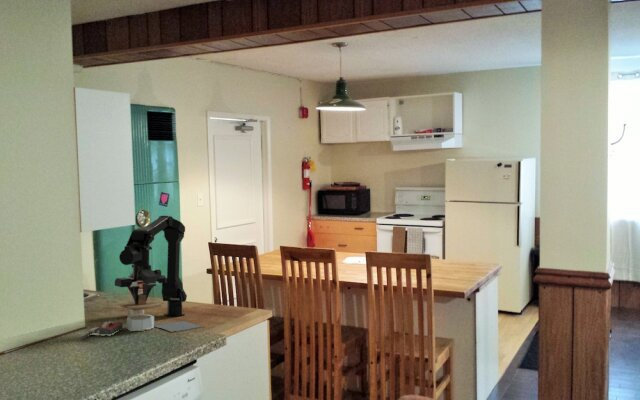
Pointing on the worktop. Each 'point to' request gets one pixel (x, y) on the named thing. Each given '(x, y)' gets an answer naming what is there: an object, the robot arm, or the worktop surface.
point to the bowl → (140, 322)
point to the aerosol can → (130, 299)
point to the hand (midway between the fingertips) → (140, 303)
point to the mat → (178, 326)
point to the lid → (140, 304)
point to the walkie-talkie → (106, 328)
